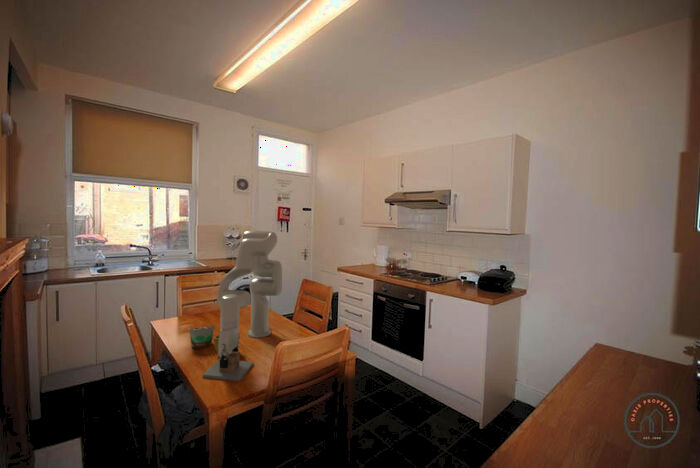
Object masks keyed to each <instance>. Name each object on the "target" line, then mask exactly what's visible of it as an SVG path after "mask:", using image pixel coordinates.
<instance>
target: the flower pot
mask: <svg viewBox="0 0 700 468" xmlns="http://www.w3.org/2000/svg"><path fill="white" fill-rule="evenodd" d="M239 335H240V332H239ZM218 343H219V334H217V335H216V336H214V337H213V344H214V348H215V351H216V353H218ZM224 351H226V350H224ZM223 354H224V353H223Z"/></svg>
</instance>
